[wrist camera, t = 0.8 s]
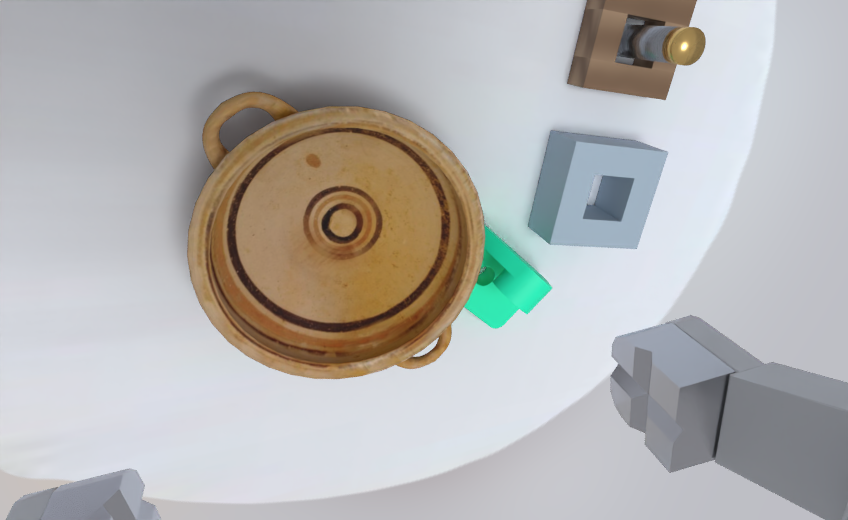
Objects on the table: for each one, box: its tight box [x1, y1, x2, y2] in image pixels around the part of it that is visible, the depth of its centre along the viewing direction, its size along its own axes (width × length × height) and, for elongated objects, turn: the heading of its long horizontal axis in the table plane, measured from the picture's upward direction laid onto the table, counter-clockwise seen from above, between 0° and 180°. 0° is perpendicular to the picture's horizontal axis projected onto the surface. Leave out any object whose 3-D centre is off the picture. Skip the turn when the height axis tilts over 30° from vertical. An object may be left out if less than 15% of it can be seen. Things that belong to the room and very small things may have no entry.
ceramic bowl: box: [187, 92, 485, 379], centre depth 48 cm, size 30×24×8 cm
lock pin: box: [617, 24, 705, 65], centre depth 47 cm, size 3×3×10 cm
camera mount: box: [464, 225, 552, 328], centre depth 53 cm, size 12×8×10 cm, turn 47°
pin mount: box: [567, 0, 697, 100], centre depth 50 cm, size 9×9×3 cm
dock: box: [528, 131, 668, 249], centre depth 54 cm, size 10×10×5 cm
